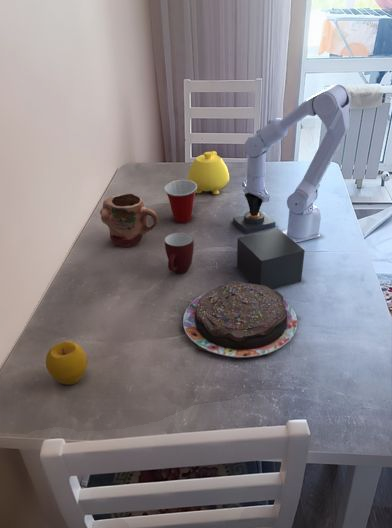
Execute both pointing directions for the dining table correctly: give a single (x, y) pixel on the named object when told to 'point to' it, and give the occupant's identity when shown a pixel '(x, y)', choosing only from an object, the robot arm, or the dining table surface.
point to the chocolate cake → (240, 320)
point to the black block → (270, 259)
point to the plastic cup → (181, 199)
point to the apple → (66, 362)
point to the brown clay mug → (126, 219)
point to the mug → (179, 251)
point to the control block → (253, 222)
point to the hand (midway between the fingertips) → (254, 214)
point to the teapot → (209, 173)
